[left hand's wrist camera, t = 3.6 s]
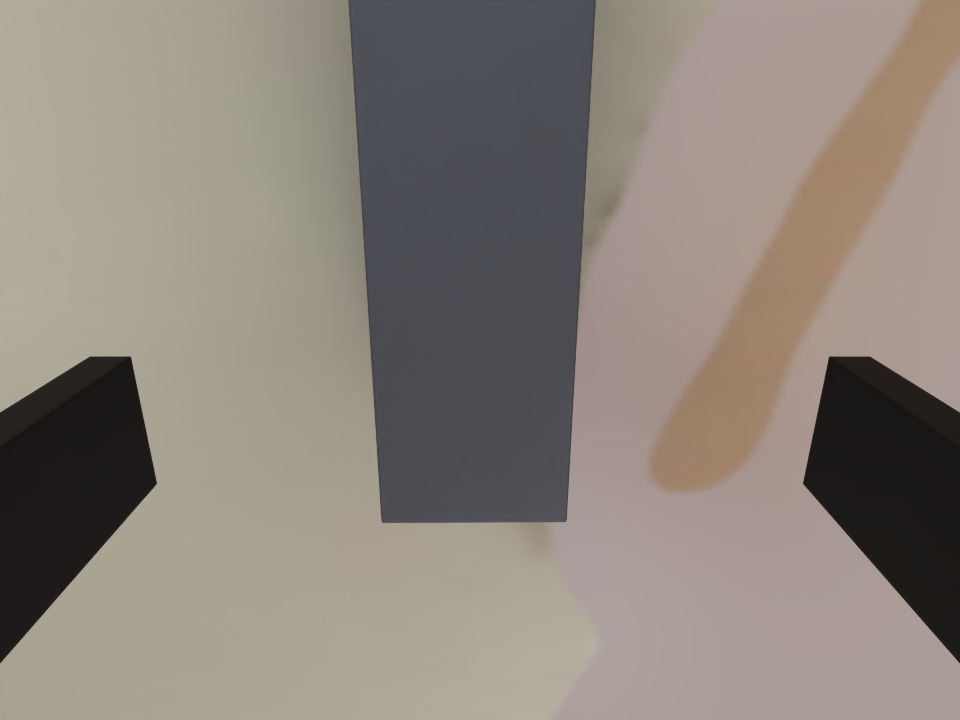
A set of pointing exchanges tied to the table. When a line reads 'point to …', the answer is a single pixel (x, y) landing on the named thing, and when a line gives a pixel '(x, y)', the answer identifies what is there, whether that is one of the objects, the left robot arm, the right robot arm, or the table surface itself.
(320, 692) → the table surface
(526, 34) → the beam
